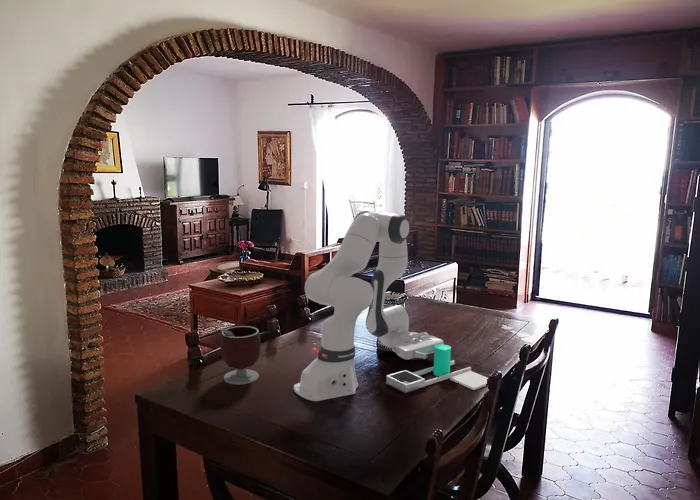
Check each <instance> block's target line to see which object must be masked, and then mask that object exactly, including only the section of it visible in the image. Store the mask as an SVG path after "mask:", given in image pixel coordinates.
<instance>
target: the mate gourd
mask: <svg viewBox="0 0 700 500" xmlns="http://www.w3.org/2000/svg"><path fill="white" fill-rule="evenodd" d="M219 332H221V337H220V353H221V358H222V360H223V362H224V363H225V365H227V367H229V368H232V369H234V370H231V371H229V372H227V373H225V374H224V375H223V380H224V382H225V383H228V384H230V385H239V386H240V385H246V384H247V385H248V384H252V383H254V382H256V381H257V380H259V373H258V371H256V370H252V369H247V368H249V367H253V366H254V365H255V364H256V362H257V361H258V360H259V359H260V355H261V354H260V353H261V347H262V346H261V343H262V342H261V335H260V331H259V328H257V327H255V326H248V325H238V326H232V327H228V328H225V329H224V328H220V329H219Z"/></svg>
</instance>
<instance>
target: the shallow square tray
mask: <svg viewBox="0 0 700 500" xmlns="http://www.w3.org/2000/svg"><path fill="white" fill-rule="evenodd" d="M385 376H386V379H385V380H386V381H385V384H386V385H388V386H389V387H392V388H394V389H395V390H398V391H400V392H401V393H403V394H409V393H412V392H415V391H418V390H420V389H424V388H425V387H426V386H425V381H426V379H425V378H423V377H422V376H421V375H419V376H417V375H415V374H413V372H411V371H409V370H406V369H405V370H402V371H397V372H395V373H390V374H387V375H385Z"/></svg>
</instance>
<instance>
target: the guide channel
mask: <svg viewBox="0 0 700 500" xmlns="http://www.w3.org/2000/svg"><path fill="white" fill-rule="evenodd" d="M455 361H456V360H454V359H452V360H450V367H451V366H454V365H455V364H456V362H455ZM431 371H432V372H434V365H433V366H431V367H427V368H424V369H420V370H417V371H414V372H413V371H412V373H413V374H415V375H417V376H422V375H425V374H428V372H429V373H431ZM469 371H472V367H471V366H468V367H465V368H462V369H458V370H455V371H452V372H450V373H449V374H446V375H443V376H439V377H438V376H436V377H434V378H430V379H427V380H425V387H426V386H430V385H433V384H436V383H438V382H442V381H445V380H448V379H450V377H454V376H457V375H460V374H463V373H466V372H469Z"/></svg>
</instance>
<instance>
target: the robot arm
mask: <svg viewBox="0 0 700 500" xmlns="http://www.w3.org/2000/svg"><path fill="white" fill-rule="evenodd" d="M350 224H351V225H350V226H349V228H348V229H347V231H346V233H345V235H344V237H343V238H342V239H343V240H342V242H341V244H340V246H339V248H338V250H337V252H336V254H335V255H334V256H333V258H332V259H331V260H330V261H329V262H328V263H327V264H326V265H325V266H323V267H322V268H321V269H319V270H317V271H316V272H313V273H311V274H310V275H309V276H307V279H306V280H305V283H304V293H305V295H306V298H307V299H309V300H311V301H312V302H315V303H318V304H319V305H324V306H328V307H334V308H333V309H334V312H333V316H330V317H328V318H327V319H325V320H324V321H323V323H322V325H321V345H320V347H319V348H316V347H313V348H312V349H311V353H312V354H314V355H315V356H317V357H316V358H315V359H314V360H312V362H311V363H309V365H308V366H307V367H306V368H304V369H303V370H302V373H301V376H300V380H299V381H300V382H298V383H295V384H293V391H294V392H295V394H297V395H298V396H299V397H301V398H303V399H306V400H308V401H311V402H321V401H325V400H330V399H331V400H332V399H336V398H340V397H345V396H350V395H355V394H356V390H357V388H358V386H359V383H358V379H357V374H356V368H355V367H356V366H355V357H356V345H355V329H356V322H357V319H358V318H359V316H360V315H361V313H362V312H363V311H365V310H367V309H368V311H367V315H366V319H365V327H366V330H367V331H368V333H370V334H371V335H372V336H374V337H376V338H377V339H378V341H380V343H382V344H383V345H384V346H385V345H386V347H387V348H389V349H391V350H392V352H394V353H395V354H396V355H397V356H398V357H399V358H401V359H403V360H412V359H416V358H418V359H423V360H426V359H428V356H429V355H430V354H434V350H435V345H445V344H444V342H445V341H444V340H443V339H442V338H439V337H437V336H434V335H429V333H428V332H425V331H424V332H415V331H409V329H410V322H411V318H410V317H411V316H410V313H409V311H408V309H407V308H406V307H405V306H404V305H402V304H400V305H397V304H394V305H395V306H393V305H390V306H388V307H385V298H386V297H385V296H386V292H387V289H388V288H389V287H390V286H391V284H392V283H393V282H394V281H396V280H398V279H399V278H400V277H401V276H402V275H404V273H405V272H406V270H407V269H408V262H409V259H408V244H407V238H408V236H409V234H410V232H411V231H410V230H411V229H410V227H411V226H410V222H409V220H408V218H407V217H406V216H405V215H403V214H400V213H392V212H385V211H380V210H379V211H377V210H376V211H369V210H366V211H365V210H364V211H360V212H359V213H357V214H356V216H355V217H354V219H353V221H352V222H351V223H350ZM377 242H379V244H378V246H379V247H378V263H377V267H376V269H375V271H374V272H373V274H372V276H371V277H372V278H371V283H370V282H368V281H366V280H363V279H362V278H360V277H356V276H353V275H354V274H357V273H359V272H361V271H363V270H364V269H365V268H366V267H367V265H368V263H369V261H370V258H371V256H372V254H373V251H374V249H375V246H376V244H377Z"/></svg>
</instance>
